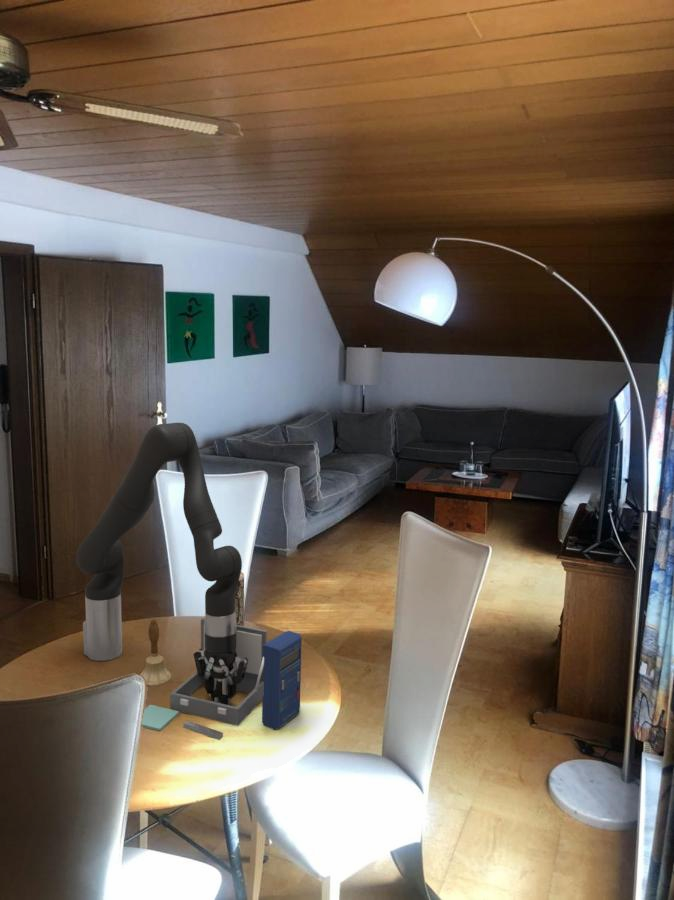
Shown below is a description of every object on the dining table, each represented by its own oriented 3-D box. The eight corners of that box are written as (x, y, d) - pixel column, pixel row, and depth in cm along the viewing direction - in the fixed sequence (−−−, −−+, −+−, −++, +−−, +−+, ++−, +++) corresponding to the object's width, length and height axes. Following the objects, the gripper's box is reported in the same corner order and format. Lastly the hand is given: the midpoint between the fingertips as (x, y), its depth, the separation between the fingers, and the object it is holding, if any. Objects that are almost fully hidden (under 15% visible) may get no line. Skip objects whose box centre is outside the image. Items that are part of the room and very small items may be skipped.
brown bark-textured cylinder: (238, 670, 199) (239, 580, 194) (214, 667, 200) (214, 578, 195) (246, 658, 205) (247, 572, 200) (223, 655, 206) (223, 569, 202)
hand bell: (171, 684, 190) (170, 625, 187) (137, 687, 188) (136, 627, 185) (171, 669, 198) (170, 612, 195) (139, 671, 196) (137, 614, 193)
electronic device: (278, 731, 171) (279, 649, 167) (260, 724, 173) (261, 643, 170) (301, 713, 179) (303, 634, 175) (284, 706, 181) (285, 629, 177)
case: (169, 710, 178) (168, 643, 175) (203, 679, 193) (203, 617, 190) (239, 727, 172) (240, 658, 169) (269, 694, 187) (270, 630, 184)
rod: (183, 728, 171) (183, 723, 171) (187, 725, 172) (187, 720, 172) (219, 741, 167) (219, 735, 167) (222, 738, 168) (222, 732, 168)
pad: (130, 723, 172) (130, 721, 172) (150, 706, 179) (150, 704, 179) (160, 731, 169) (160, 728, 169) (179, 713, 177) (179, 711, 177)
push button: (201, 700, 183) (201, 662, 181) (218, 692, 187) (218, 655, 185) (219, 711, 178) (219, 672, 177) (236, 702, 182) (236, 664, 181)
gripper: (185, 630, 178) (187, 696, 181) (239, 640, 173) (240, 708, 176) (202, 618, 185) (202, 682, 188) (254, 627, 180) (254, 693, 183)
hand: (220, 694), depth 182 cm, fingers closed on push button, 5 cm apart
